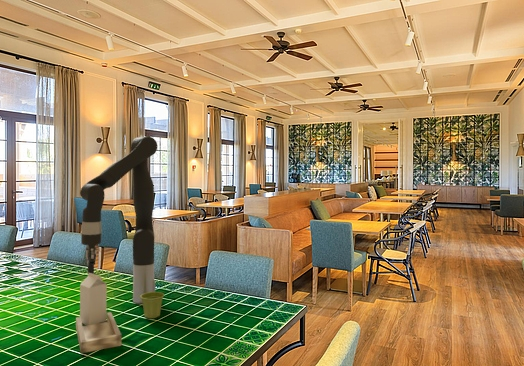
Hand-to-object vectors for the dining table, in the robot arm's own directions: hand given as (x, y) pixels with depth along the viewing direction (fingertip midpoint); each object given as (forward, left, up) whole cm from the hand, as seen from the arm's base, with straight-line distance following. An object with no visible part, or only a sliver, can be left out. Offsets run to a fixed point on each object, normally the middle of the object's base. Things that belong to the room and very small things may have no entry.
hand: (90, 274), depth 160 cm
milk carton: (0, +9, -17) cm, 19 cm away
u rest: (0, +23, -17) cm, 29 cm away
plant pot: (-22, +13, -17) cm, 31 cm away
